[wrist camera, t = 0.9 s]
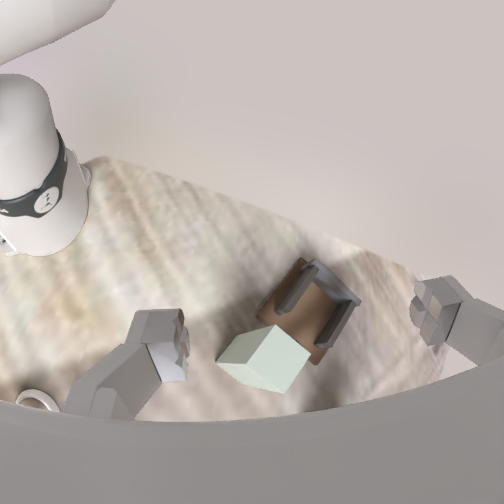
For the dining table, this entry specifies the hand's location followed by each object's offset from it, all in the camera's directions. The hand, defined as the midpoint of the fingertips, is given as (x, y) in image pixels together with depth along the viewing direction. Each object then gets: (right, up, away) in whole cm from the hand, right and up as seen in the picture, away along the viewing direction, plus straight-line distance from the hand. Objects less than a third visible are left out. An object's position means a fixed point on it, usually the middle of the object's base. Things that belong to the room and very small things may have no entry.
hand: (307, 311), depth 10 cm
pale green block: (-4, -13, +32) cm, 34 cm away
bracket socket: (+7, -7, +38) cm, 39 cm away
